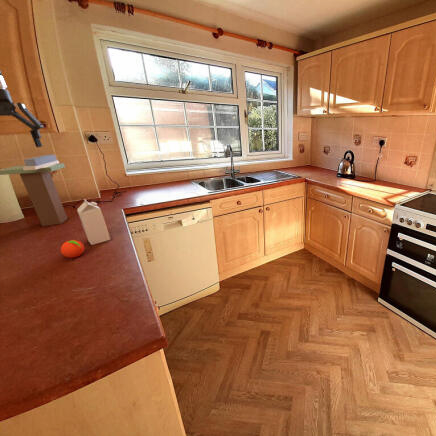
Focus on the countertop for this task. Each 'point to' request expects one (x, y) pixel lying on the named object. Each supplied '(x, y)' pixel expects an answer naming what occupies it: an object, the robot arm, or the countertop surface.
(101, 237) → the milk carton
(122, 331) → the countertop surface
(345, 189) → the countertop surface
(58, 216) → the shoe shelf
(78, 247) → the clementine
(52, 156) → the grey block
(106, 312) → the countertop surface
